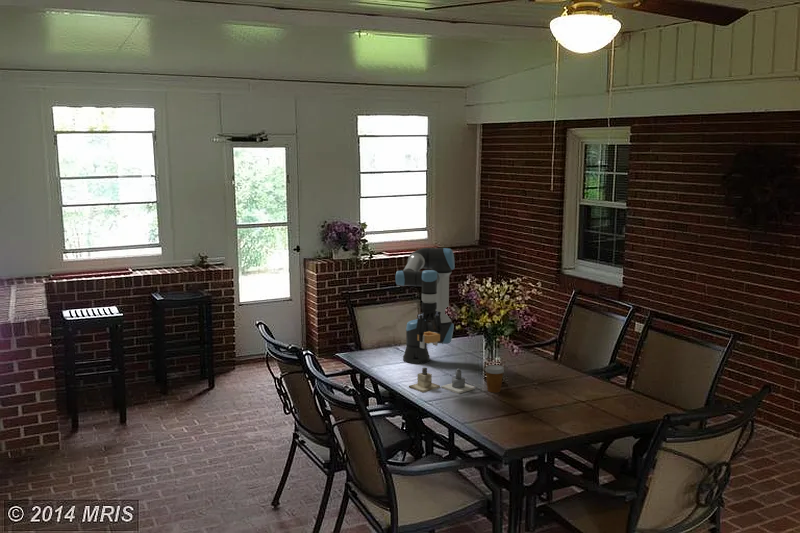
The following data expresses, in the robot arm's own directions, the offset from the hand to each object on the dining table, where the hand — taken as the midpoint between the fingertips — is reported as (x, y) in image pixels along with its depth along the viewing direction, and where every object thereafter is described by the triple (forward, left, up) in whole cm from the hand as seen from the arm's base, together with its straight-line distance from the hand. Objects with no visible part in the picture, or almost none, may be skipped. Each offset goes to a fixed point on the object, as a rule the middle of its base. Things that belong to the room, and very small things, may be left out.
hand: (428, 346), depth 366 cm
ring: (0, 0, +3) cm, 3 cm away
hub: (-11, +11, -21) cm, 26 cm away
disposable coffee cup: (-22, +25, -21) cm, 39 cm away
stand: (+1, -1, -21) cm, 21 cm away
